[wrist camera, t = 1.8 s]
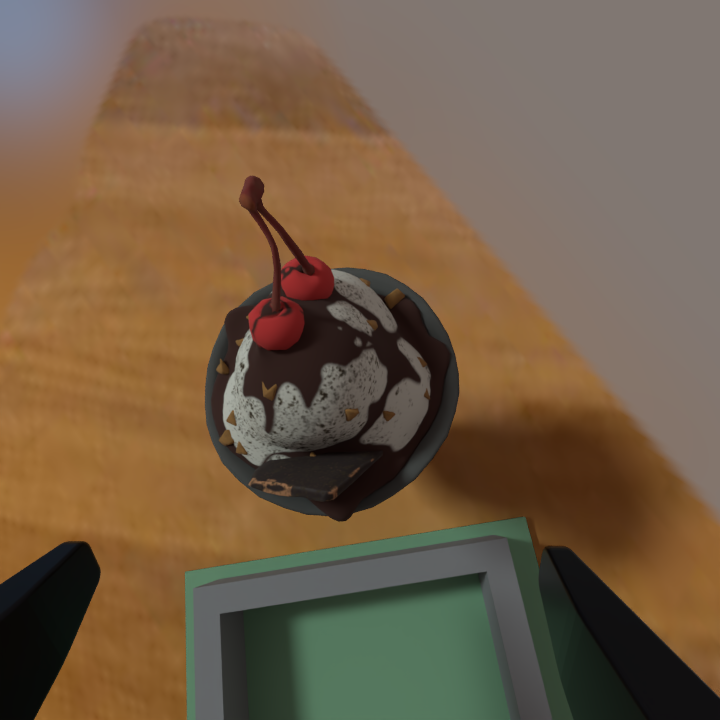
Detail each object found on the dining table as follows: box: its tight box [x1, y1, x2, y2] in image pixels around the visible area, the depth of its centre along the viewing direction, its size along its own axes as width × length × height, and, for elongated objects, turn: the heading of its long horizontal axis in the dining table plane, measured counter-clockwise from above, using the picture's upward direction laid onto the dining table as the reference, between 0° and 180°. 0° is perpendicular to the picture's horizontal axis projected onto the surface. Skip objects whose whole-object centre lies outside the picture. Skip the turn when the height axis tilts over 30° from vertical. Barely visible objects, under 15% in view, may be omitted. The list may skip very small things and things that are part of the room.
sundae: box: [205, 176, 459, 521], centre depth 14 cm, size 7×7×15 cm
